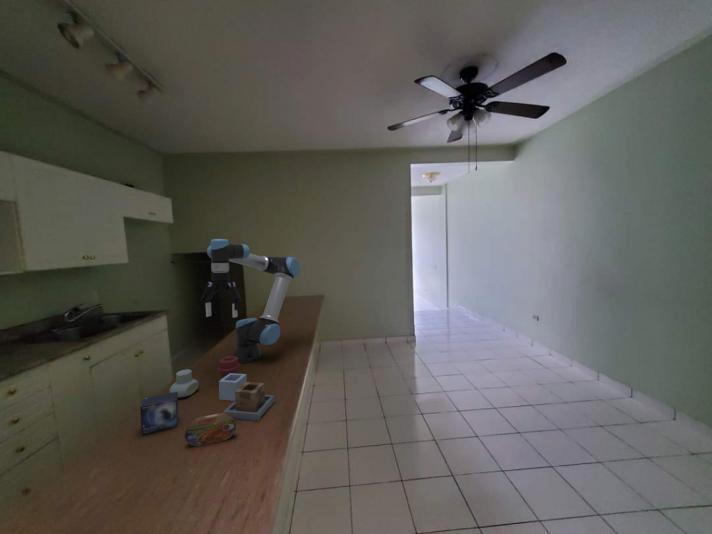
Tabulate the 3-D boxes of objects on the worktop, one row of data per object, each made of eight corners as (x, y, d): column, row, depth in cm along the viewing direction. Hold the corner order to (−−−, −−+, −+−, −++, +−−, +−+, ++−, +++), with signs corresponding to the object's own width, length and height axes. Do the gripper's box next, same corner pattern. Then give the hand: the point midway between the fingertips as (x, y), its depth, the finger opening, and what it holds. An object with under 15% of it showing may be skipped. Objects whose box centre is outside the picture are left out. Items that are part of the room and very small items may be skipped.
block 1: (230, 390, 126) (230, 373, 126) (246, 391, 125) (246, 374, 125) (219, 399, 118) (218, 381, 118) (236, 401, 117) (236, 382, 117)
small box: (140, 436, 95) (139, 406, 94) (144, 426, 100) (143, 397, 100) (177, 427, 100) (176, 398, 99) (179, 418, 105) (178, 390, 105)
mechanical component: (227, 389, 127) (213, 384, 132) (245, 380, 136) (231, 376, 141) (226, 362, 127) (212, 358, 131) (244, 355, 135) (230, 352, 140)
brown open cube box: (246, 400, 116) (246, 381, 115) (264, 402, 114) (264, 383, 114) (235, 411, 108) (235, 391, 107) (255, 413, 107) (254, 393, 106)
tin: (184, 448, 89) (183, 423, 88) (187, 442, 92) (186, 417, 91) (236, 438, 93) (235, 414, 93) (237, 433, 96) (236, 409, 96)
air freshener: (186, 387, 129) (185, 366, 129) (202, 389, 128) (201, 367, 127) (166, 399, 119) (165, 376, 118) (182, 401, 117) (181, 378, 116)
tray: (243, 398, 119) (243, 393, 119) (274, 401, 117) (274, 395, 117) (223, 418, 105) (223, 411, 105) (258, 421, 103) (258, 414, 103)
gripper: (190, 272, 130) (192, 317, 131) (240, 272, 126) (241, 319, 127) (201, 271, 137) (203, 314, 138) (249, 271, 133) (250, 315, 135)
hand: (221, 316), depth 133 cm, fingers open, 13 cm apart
